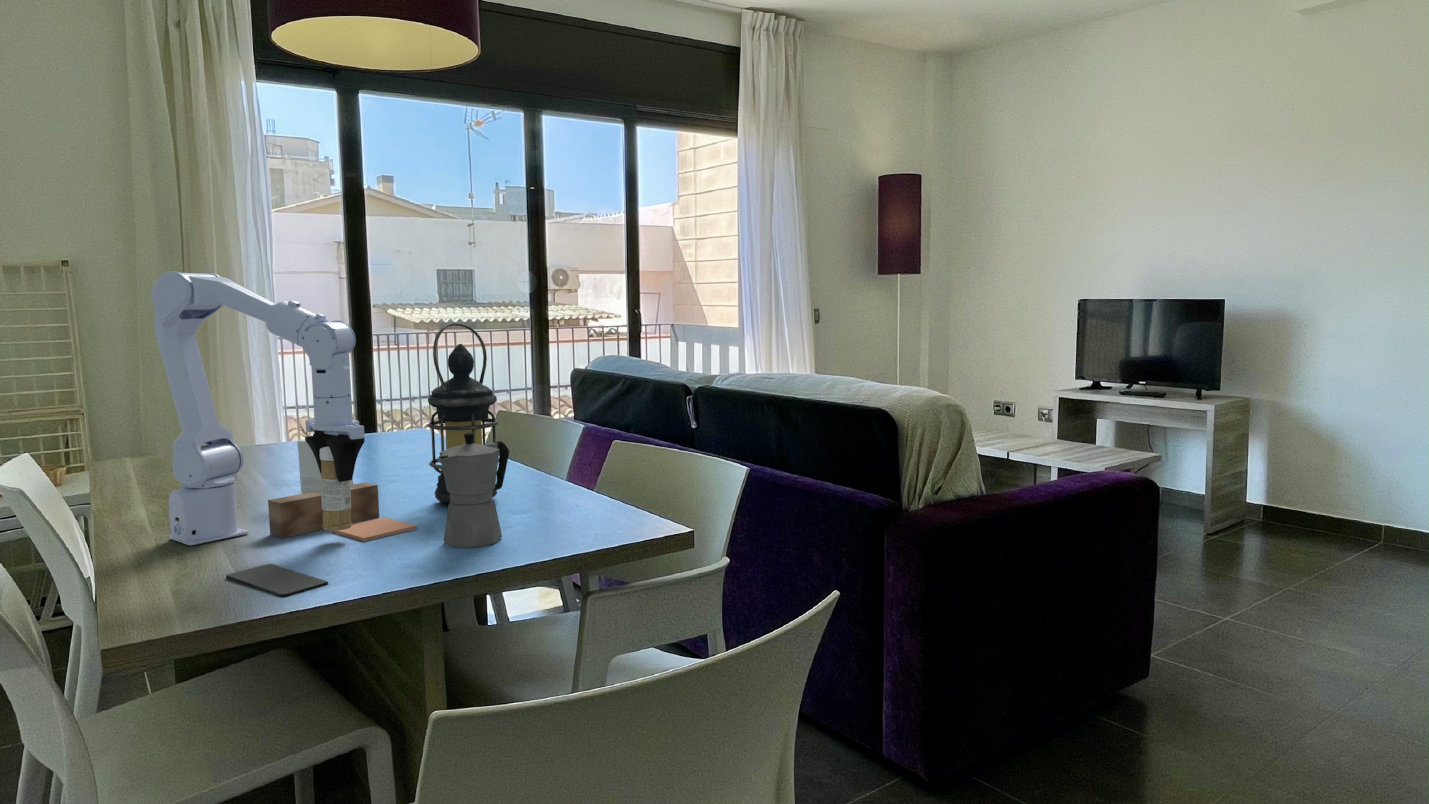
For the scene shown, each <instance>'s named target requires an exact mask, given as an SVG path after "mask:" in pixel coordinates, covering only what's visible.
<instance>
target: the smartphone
mask: <svg viewBox="0 0 1429 804" xmlns="http://www.w3.org/2000/svg"><path fill="white" fill-rule="evenodd" d="M225 579H226V580H228V581H230V582H234V583H236V584H239V585H242V586H246V587H249V588H252V589H254V590H258V591H261V592H264V593H267V594H271V595H273V596H276V597H279V598H288V597H292V596H295V595H298V594H301V593H305V592H307V591H312V590H315V589H318V588H322V587H326V586H328V585H329V581H327V580H324V579H320V578H318V577H314V576H312V575H308V574H305V573H302V572H299V571H296V570H292V569H289V568H287V567H284V566H280V565H277V564H274V563H267V564H263V565H259V566H255V567H251V568H248V569H247V568H246V569H244V570H243V569H242V570H238V571H234V572H231V573H227V574H226V576H225Z"/></svg>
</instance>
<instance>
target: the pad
mask: <svg viewBox="0 0 1429 804" xmlns="http://www.w3.org/2000/svg"><path fill="white" fill-rule="evenodd" d="M417 529H418V525H417V524H414V523H413V524H411V523H409V522H408V523H407V522H405V521H400V520H396V519H393V518H390V517H389V518H388V517H384V516H382V517H377V518H373V519H368V520H364V521H359V522H355V523H352V526H351V527H350V528H348V529H344V530H337V531H332V530H330V531H331V533H332V534H336V535H340V536H343V537H348V538H349V539H353V540H358V541H361V542H368V541H371V540H376V539H380V538H385V537H388V536H393V535H396V534H397V535H398V534H402V533H405V532H409V531H413V530H417Z"/></svg>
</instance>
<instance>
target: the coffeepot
mask: <svg viewBox="0 0 1429 804" xmlns="http://www.w3.org/2000/svg"><path fill="white" fill-rule="evenodd" d="M464 437H465V441H466V444H463V445H460V446H456V447H453V448H449V449H447V450H446V449H444V451H442V452H441V451H439V456H438V457H437V458H436V459H437V460H438V462H437V463H440V465H442V468H443V473H444V478H445V483H446V489H447V491H448V492H449V493H450V501H451V502H450V503H448V507H447V513H446V520H445V530H444V536H443V542H444V543H445V544H446V545H447V546H449V547H452V548H457V549H471V548H472V549H473V548H483V547H487V546H488V547H489V546H490V545H494V544H496V543H499V541H500V540H501V538H503V534H502V529H501V524H500V520H499V516H498V512H497V511H498V509H497V506H496V502H495V501H494V499H493V498H492V490H493V491H495V490H496V491H498V490H500V489H502V487H503V485H504V479H505V475H506V471H507V466H508V460H509V457H510V450H509V447H508V446H507V445H506V444H505V443H504V442H503V441H502V440H498V441H497V440H496V442H494V443H493V442H488V443H485V445H483V444H482V445H479V444H474V443H473V440H474V433H470V432H468V433H466V434H464ZM498 458H499V462H498Z"/></svg>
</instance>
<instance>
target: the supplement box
mask: <svg viewBox="0 0 1429 804" xmlns="http://www.w3.org/2000/svg"><path fill="white" fill-rule="evenodd" d="M296 444H297V450H298V451H297V452H298V469H299V480H300V481H299V482H300V494H304V493H309V492H315V491H320V490H322V480H321V479H322V478H321V473H320V470H319V467H318V464H317V461H316V458H315V456H314V454H313V452H312V450H311V448H310V446H309V445H308V443H307V442H306V441H305V438H304V439H300V440H298V441H297V442H296ZM353 478H354V477H353ZM353 478H352V480H350V485H353V484H354V479H353Z"/></svg>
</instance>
